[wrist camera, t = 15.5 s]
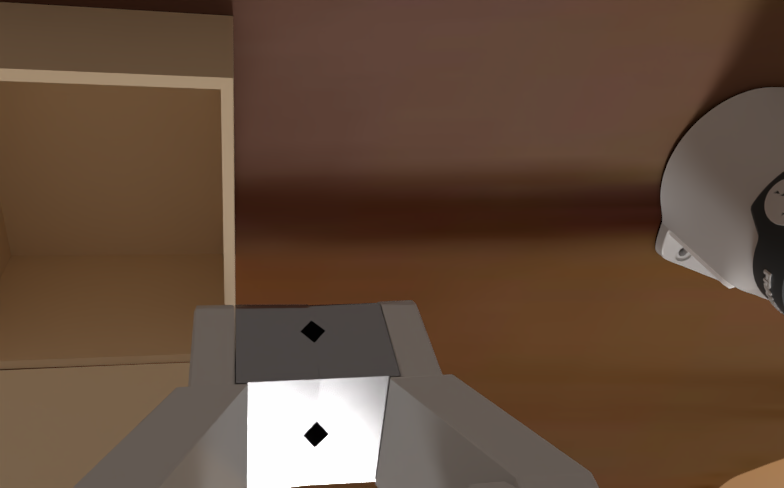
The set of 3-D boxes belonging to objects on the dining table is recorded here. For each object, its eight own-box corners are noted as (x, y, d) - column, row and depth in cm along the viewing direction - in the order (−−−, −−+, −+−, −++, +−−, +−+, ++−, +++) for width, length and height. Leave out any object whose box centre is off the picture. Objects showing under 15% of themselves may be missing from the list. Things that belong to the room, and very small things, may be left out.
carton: (-48, -1, 42) (-136, 62, 32) (233, 15, 45) (233, 78, 35) (5, 258, 51) (-51, 371, 41) (235, 256, 54) (235, 359, 44)
